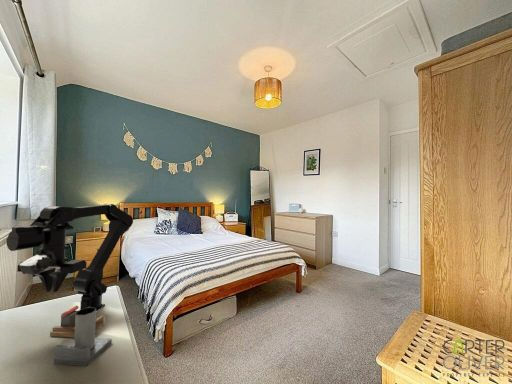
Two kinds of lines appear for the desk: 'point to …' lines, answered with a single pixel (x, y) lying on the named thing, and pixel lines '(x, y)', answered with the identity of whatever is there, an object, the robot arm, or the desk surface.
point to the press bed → (79, 353)
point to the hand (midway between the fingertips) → (52, 291)
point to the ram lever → (69, 317)
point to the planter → (85, 327)
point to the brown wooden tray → (73, 329)
